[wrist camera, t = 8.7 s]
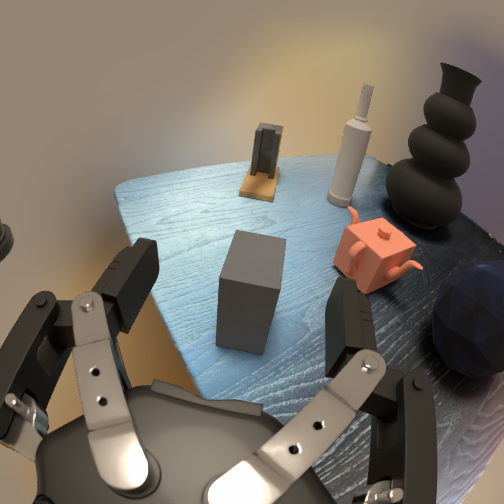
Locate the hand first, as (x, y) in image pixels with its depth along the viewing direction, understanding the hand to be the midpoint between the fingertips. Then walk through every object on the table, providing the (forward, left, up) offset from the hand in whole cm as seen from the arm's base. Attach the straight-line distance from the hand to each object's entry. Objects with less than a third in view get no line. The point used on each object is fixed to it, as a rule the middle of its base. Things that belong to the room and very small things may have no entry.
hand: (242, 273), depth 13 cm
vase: (+22, +53, -18) cm, 60 cm away
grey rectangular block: (-2, +11, -18) cm, 21 cm away
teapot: (+11, +27, -18) cm, 34 cm away
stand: (-13, +46, -18) cm, 51 cm away
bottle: (+4, +48, -18) cm, 51 cm away
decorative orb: (+26, +17, -18) cm, 36 cm away
